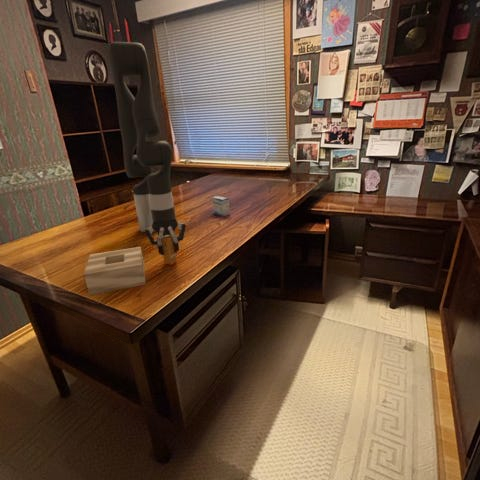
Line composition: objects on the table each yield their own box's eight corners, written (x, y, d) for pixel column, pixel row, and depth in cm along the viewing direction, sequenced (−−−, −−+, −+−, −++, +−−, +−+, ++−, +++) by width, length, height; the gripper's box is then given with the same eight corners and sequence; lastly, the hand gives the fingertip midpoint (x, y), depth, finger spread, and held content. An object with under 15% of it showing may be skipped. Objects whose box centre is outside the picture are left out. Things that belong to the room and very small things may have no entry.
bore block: (94, 273, 101) (89, 254, 98) (144, 264, 105) (140, 246, 102) (89, 295, 88) (83, 274, 85) (145, 284, 93) (141, 264, 90)
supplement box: (177, 261, 106) (173, 235, 102) (171, 265, 104) (167, 238, 100) (169, 259, 108) (166, 234, 104) (163, 263, 105) (159, 237, 101)
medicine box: (213, 213, 156) (211, 197, 152) (219, 211, 159) (218, 195, 155) (223, 216, 151) (222, 199, 147) (229, 214, 154) (228, 197, 150)
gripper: (182, 200, 103) (187, 245, 109) (139, 205, 99) (147, 252, 106) (185, 206, 96) (191, 254, 103) (139, 211, 92) (148, 261, 99)
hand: (169, 252), depth 104 cm, fingers closed on supplement box, 4 cm apart
